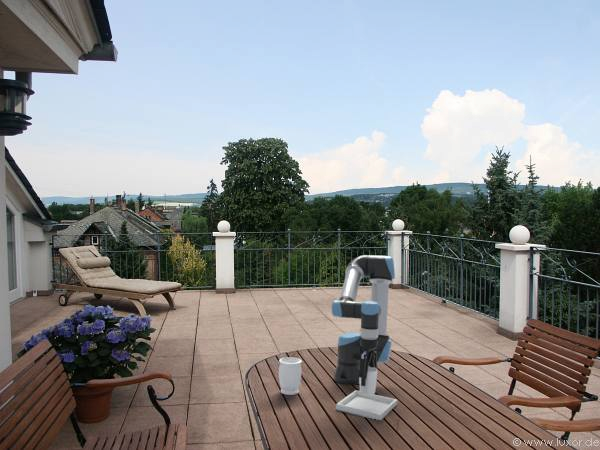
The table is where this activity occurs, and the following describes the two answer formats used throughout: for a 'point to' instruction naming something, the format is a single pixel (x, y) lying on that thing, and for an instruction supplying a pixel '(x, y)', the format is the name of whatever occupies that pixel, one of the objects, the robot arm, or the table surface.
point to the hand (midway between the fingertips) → (367, 390)
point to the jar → (289, 375)
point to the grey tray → (366, 405)
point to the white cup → (370, 380)
